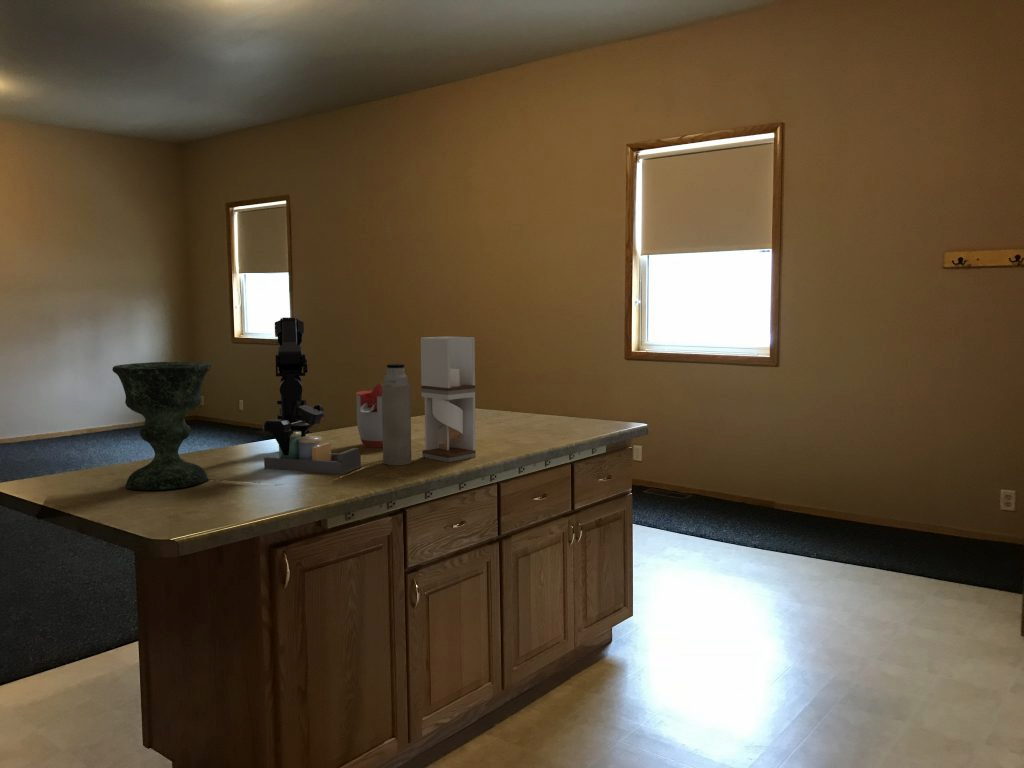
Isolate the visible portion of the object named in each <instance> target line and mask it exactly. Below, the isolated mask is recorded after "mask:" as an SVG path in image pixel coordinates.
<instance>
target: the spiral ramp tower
mask: <svg viewBox="0 0 1024 768" xmlns="http://www.w3.org/2000/svg"><path fill="white" fill-rule="evenodd" d="M475 340H476V339H475V337H472V336H471V337H468V336H467V337H466V336H433V337H431V336H430V337H420V370H421V371H420V373H421V374H420V375H421V377H420V378H421V383H420V384H421V387H420V388H421V398H424V434H425V435H424V436H425V437H424V443H425V444H424V446H425V447H424V448H425V449H423V450H422V451H421V452H422V453H421V454H422V455H421V456H422V458H424V457H425V459H429V460H430V459H431V460H436V461H441V462H446V463H451V462H458V461H462V460H467V459H472V458H476V456H477V454H476V452H477V451H476V445H477V443H476V442H477V441H476V347H475V346H476V341H475Z"/></svg>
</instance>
